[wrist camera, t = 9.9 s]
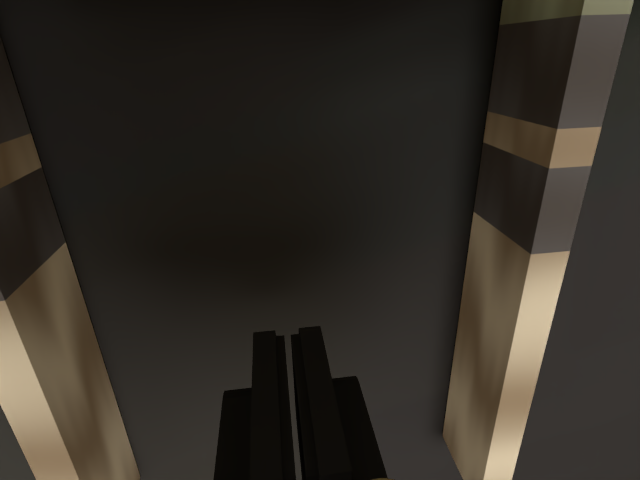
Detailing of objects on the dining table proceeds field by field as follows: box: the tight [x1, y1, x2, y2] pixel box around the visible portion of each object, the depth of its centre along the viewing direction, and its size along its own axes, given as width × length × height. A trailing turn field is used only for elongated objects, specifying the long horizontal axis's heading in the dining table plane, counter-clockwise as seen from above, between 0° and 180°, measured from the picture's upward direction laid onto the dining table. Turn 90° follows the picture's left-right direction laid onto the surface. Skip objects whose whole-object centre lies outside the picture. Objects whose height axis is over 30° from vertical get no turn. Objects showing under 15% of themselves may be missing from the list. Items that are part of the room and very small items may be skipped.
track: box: [0, 0, 634, 480], centre depth 10 cm, size 31×16×4 cm, turn 2°
